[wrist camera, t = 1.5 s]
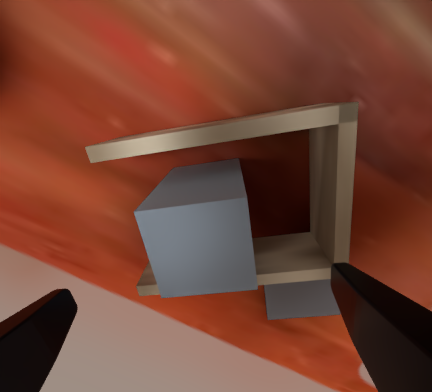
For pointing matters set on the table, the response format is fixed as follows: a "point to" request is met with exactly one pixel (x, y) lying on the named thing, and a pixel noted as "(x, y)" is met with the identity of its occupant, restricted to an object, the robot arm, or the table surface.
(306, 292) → the felt coaster
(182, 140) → the u-shaped bracket
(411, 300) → the robot arm
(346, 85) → the table surface
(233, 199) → the slate block
